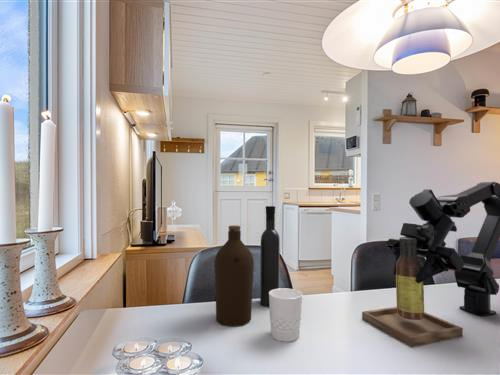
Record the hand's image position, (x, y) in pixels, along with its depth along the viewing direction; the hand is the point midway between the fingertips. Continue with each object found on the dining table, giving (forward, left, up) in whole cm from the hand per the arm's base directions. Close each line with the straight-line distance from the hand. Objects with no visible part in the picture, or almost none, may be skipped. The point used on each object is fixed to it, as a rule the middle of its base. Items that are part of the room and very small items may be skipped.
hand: (405, 278), depth 77 cm
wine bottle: (+26, -27, -13) cm, 39 cm away
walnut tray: (-1, 0, -12) cm, 12 cm away
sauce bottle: (-1, 0, -10) cm, 10 cm away
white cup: (+31, -6, -13) cm, 34 cm away
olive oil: (+40, -19, -13) cm, 46 cm away
